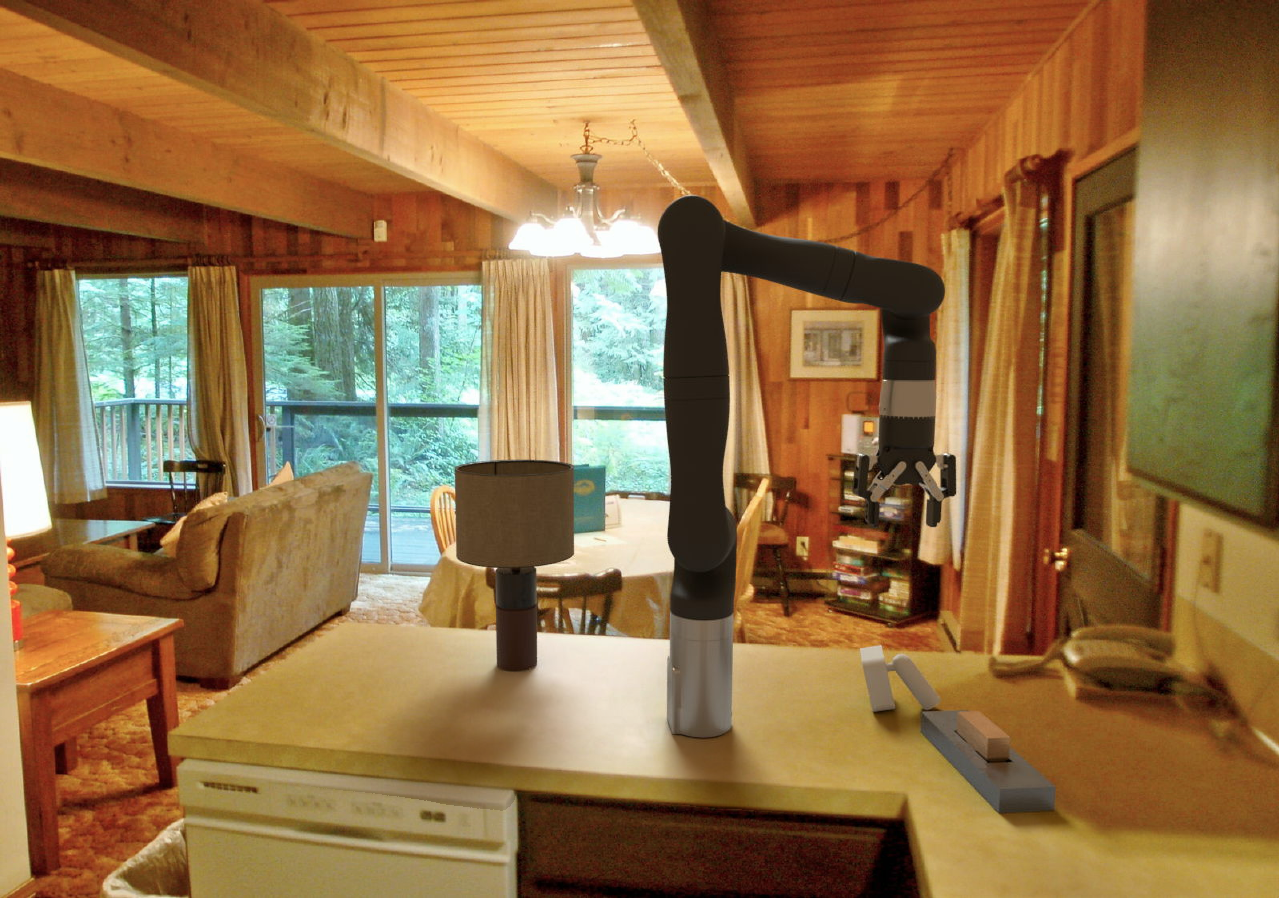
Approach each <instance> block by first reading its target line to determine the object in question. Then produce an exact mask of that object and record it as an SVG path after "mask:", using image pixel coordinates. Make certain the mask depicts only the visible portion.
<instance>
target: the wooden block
mask: <svg viewBox="0 0 1279 898" xmlns="http://www.w3.org/2000/svg"><path fill="white" fill-rule="evenodd" d="M957 734H958V735H960V737H961V738H962V739H963V740H964V741H965V742H967V743H968V744H969V745H970V746H971V747H972V748H974V749H975V750H976V751H977V752H978V753H979V754H980V755H981V756H982V758H983V759H984V760H985V761H986V762H987V763H1004V762H1005V760H1009V752H1010V747H1011V736H1009V735H1008V734H1007V733H1006V732H1004V731H1003V729H1001V728H1000V727H999V726H997V725H996V724H995V723H994V722H992V720H990V719H989V718H988V717H987V716H985V714H983V713H982V712H981V711H979V710H973V711H970V710H968V711H967V712H958V718H957Z"/></svg>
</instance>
